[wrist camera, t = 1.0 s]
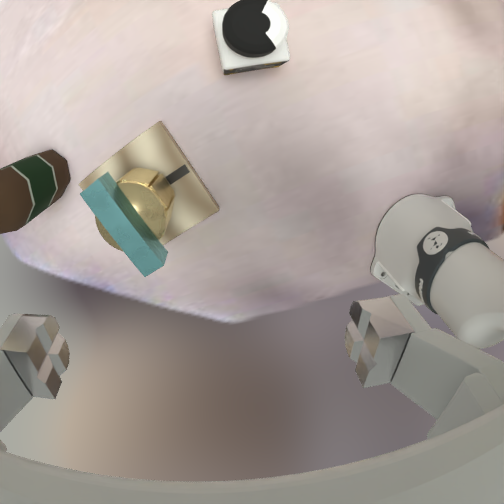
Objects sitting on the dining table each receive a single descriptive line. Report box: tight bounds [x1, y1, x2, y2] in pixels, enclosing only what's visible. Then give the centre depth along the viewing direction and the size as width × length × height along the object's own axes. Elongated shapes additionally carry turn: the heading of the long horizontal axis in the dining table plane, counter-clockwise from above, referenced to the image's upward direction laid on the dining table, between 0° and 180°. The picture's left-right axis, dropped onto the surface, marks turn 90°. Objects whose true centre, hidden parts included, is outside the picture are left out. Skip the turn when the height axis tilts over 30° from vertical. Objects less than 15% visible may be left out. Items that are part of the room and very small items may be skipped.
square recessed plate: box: [79, 121, 219, 245], centre depth 38 cm, size 14×14×6 cm
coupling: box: [80, 167, 175, 277], centre depth 34 cm, size 8×11×10 cm
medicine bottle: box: [212, 0, 290, 75], centre depth 28 cm, size 7×7×12 cm
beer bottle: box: [0, 150, 70, 234], centre depth 27 cm, size 8×8×24 cm
